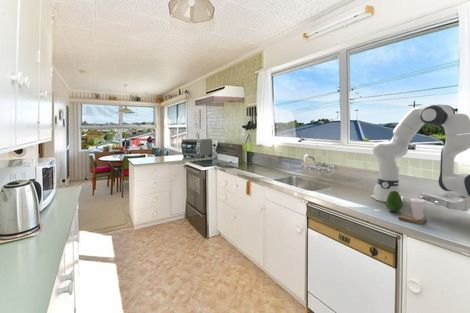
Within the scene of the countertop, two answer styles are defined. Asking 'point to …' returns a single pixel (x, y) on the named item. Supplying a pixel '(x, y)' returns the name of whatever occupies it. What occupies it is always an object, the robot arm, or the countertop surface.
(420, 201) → the smoothie
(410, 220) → the coaster board
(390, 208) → the avocado
